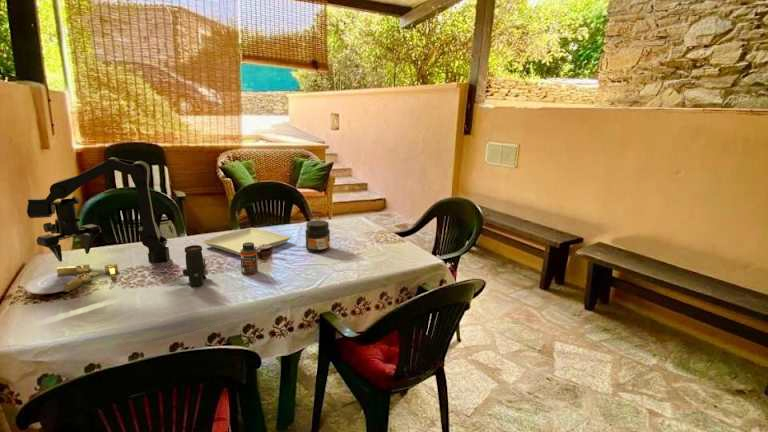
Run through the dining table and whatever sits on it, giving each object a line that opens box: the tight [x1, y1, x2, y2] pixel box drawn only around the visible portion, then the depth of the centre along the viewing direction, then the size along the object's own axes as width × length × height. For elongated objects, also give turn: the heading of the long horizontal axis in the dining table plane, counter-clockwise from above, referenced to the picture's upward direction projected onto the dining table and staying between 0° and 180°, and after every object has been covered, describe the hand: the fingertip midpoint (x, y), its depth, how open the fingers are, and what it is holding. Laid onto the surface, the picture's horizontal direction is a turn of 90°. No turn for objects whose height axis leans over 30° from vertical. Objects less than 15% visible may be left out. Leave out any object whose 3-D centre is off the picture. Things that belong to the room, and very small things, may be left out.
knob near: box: [104, 263, 119, 281], centre depth 152 cm, size 10×4×3 cm, turn 35°
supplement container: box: [304, 219, 331, 254], centre depth 185 cm, size 10×10×12 cm
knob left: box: [62, 273, 93, 293], centre depth 143 cm, size 10×4×3 cm, turn 176°
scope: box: [182, 244, 209, 289], centre depth 148 cm, size 8×14×10 cm
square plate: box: [202, 227, 292, 256], centre depth 189 cm, size 27×27×4 cm
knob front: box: [56, 263, 92, 275], centre depth 153 cm, size 10×4×3 cm, turn 103°
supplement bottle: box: [239, 242, 259, 276], centre depth 159 cm, size 6×6×11 cm
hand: (74, 257), depth 156 cm, fingers open, 9 cm apart
